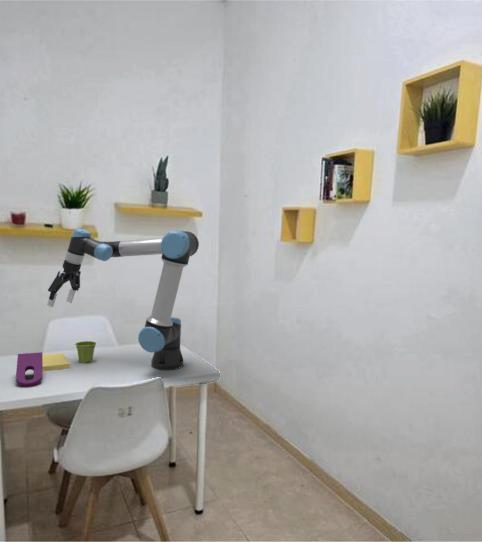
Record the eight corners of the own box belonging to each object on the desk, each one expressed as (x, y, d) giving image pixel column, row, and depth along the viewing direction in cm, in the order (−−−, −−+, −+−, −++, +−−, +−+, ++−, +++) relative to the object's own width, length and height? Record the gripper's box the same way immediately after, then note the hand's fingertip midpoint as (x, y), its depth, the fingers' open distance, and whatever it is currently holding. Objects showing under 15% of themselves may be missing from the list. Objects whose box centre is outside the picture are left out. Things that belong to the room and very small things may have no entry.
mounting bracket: (42, 397, 171) (42, 367, 185) (42, 382, 167) (42, 352, 181) (15, 400, 167) (18, 369, 181) (15, 384, 163) (17, 353, 177)
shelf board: (69, 367, 191) (69, 363, 191) (40, 371, 184) (40, 366, 184) (62, 356, 208) (62, 352, 208) (35, 359, 202) (35, 355, 201)
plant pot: (78, 358, 206) (78, 340, 206) (98, 358, 207) (98, 341, 206) (72, 363, 197) (72, 345, 196) (93, 364, 198) (93, 346, 197)
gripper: (82, 257, 206) (69, 297, 209) (48, 259, 182) (34, 304, 185) (95, 263, 205) (82, 303, 208) (62, 265, 180) (48, 311, 183)
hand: (59, 304), depth 196 cm, fingers open, 13 cm apart
